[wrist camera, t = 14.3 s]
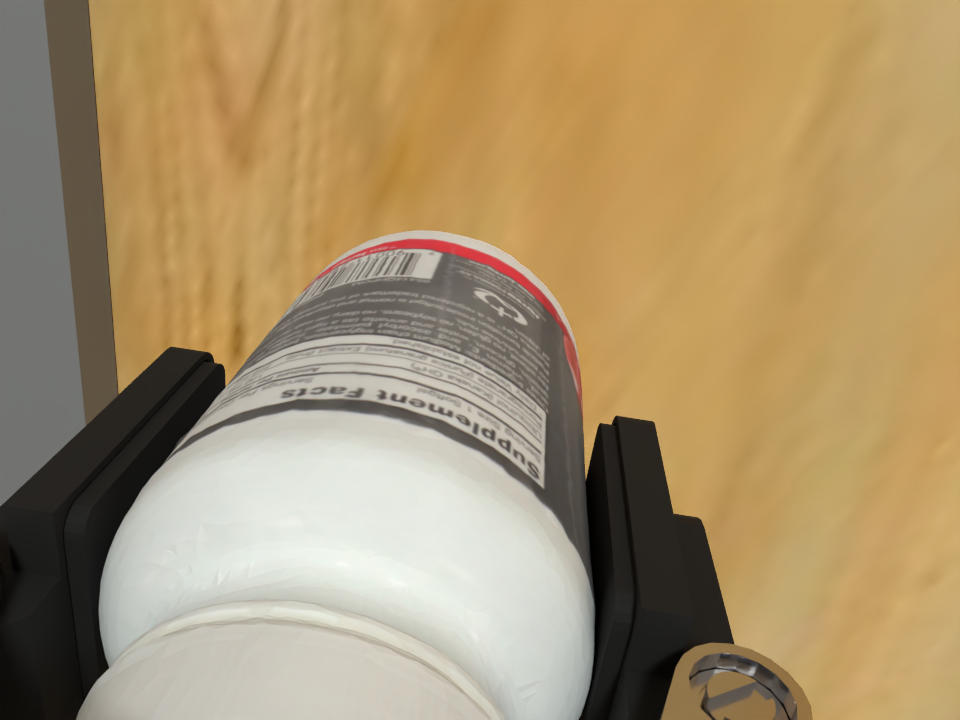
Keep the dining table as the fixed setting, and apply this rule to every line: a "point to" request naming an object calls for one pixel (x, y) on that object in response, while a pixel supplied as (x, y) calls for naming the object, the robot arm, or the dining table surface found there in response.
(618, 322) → the dining table surface
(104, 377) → the switch board
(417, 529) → the pill bottle
